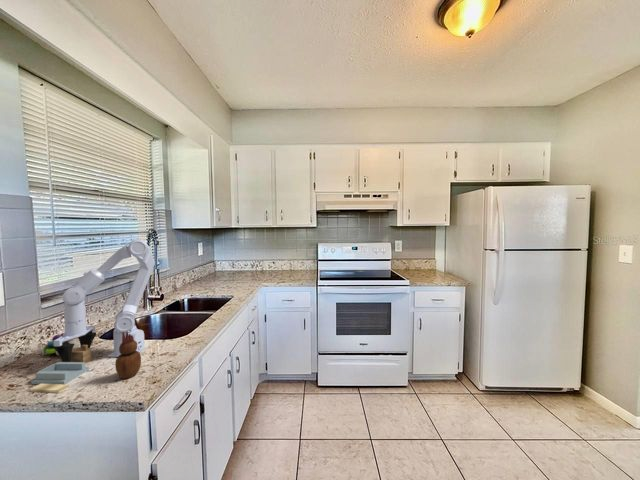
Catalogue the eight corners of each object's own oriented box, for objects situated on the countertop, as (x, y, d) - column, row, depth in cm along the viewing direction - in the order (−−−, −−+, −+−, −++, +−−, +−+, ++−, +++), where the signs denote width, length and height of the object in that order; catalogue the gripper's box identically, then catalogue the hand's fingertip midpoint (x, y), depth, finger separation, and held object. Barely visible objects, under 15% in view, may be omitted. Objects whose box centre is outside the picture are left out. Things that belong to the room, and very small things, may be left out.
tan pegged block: (91, 360, 102) (91, 343, 102) (83, 364, 98) (82, 347, 98) (69, 360, 102) (68, 343, 102) (60, 364, 98) (59, 347, 98)
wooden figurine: (121, 383, 87) (120, 335, 86) (112, 377, 90) (111, 331, 89) (144, 373, 92) (143, 328, 92) (135, 369, 95) (135, 325, 95)
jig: (88, 369, 94) (88, 361, 94) (64, 384, 86) (64, 374, 85) (59, 369, 95) (59, 360, 94) (31, 384, 86) (31, 374, 85)
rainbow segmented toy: (82, 347, 112) (82, 330, 112) (57, 358, 103) (57, 339, 103) (63, 346, 113) (62, 329, 113) (36, 357, 104) (36, 338, 103)
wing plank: (68, 388, 84) (68, 384, 84) (58, 394, 81) (58, 390, 81) (41, 387, 85) (41, 383, 85) (30, 393, 82) (30, 389, 82)
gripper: (81, 314, 107) (82, 349, 107) (44, 327, 92) (45, 367, 93) (100, 314, 107) (100, 349, 107) (65, 327, 92) (66, 368, 93)
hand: (76, 358), depth 100 cm, fingers open, 7 cm apart
